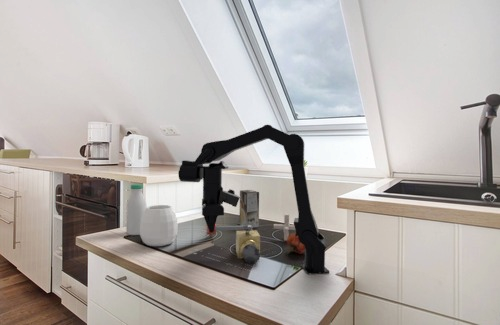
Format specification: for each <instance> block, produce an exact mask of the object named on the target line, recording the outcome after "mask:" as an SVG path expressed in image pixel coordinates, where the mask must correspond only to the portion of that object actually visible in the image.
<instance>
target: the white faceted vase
mask: <svg viewBox="0 0 500 325" xmlns="http://www.w3.org/2000/svg"><path fill="white" fill-rule="evenodd" d="M178 229H179V226H178V217H177V214H176V212H175V210H174V208H173V206H171V205H169V204H158V205H157V204H156V205H155V204H154V205H150V206H147V208H146V210H145V212H144V213H143V216H142V218H141V222H140V235H139V236H140V238H141V240H142V243H144V244H145V245H147V246H149V247H163V246H168V245H170V244H171V243H173V242H174V240H175V239H176V237H177V234H178Z"/></svg>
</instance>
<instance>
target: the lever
mask: <svg viewBox="0 0 500 325" xmlns="http://www.w3.org/2000/svg"><path fill="white" fill-rule="evenodd" d="M253 229H254V228H253V225H249V224H246V225H240V224H239V225H217V222H216V223H215V228H214V232H213V233H210V231H209V229H208V226H207V225H206V235H209V236H210V235H211V236H213V235H217V231H245V230H253Z"/></svg>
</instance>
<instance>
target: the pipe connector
mask: <svg viewBox="0 0 500 325" xmlns="http://www.w3.org/2000/svg"><path fill="white" fill-rule="evenodd" d="M283 220H284V221H283V222H284V224H278V223H274V224H273V230H274V229H276V230H282V231H283V241H284V242H285V241H286V242H287V238H288V236H289V235H290V234H289V233H290V231H292V230H293V231H296V229H295V226H294V224H290V214H288V213H285V214H284V219H283Z"/></svg>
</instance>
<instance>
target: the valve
mask: <svg viewBox="0 0 500 325" xmlns="http://www.w3.org/2000/svg"><path fill="white" fill-rule="evenodd" d="M235 254H236V256H237V258H238V259H244V261H245V263H247V264H251V265H253V264H256V263H257V262H258V261H259V260H260V257H261V235H260V233H259V232H258V230H235Z"/></svg>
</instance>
